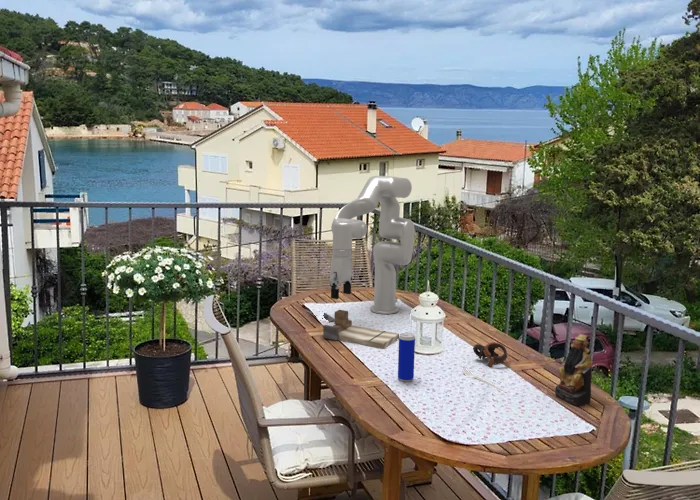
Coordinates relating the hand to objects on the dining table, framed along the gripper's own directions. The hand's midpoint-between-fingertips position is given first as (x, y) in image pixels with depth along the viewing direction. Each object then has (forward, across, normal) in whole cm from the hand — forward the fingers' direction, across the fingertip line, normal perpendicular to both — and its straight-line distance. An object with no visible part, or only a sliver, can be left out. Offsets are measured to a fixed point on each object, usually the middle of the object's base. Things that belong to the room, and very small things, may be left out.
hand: (341, 296), depth 248 cm
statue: (+16, +18, +92) cm, 95 cm away
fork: (+17, +18, +64) cm, 69 cm away
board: (+16, -1, +9) cm, 18 cm away
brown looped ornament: (+16, -1, +60) cm, 62 cm away
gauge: (+15, +1, 0) cm, 15 cm away
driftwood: (+16, -19, -20) cm, 32 cm away
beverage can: (+16, +29, +41) cm, 53 cm away
